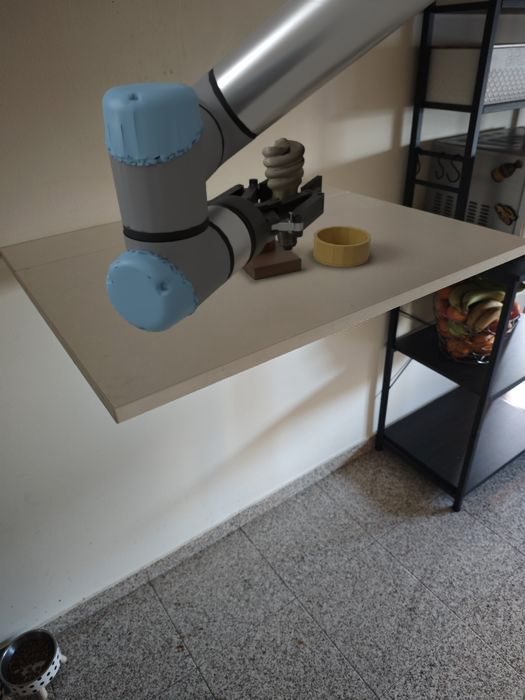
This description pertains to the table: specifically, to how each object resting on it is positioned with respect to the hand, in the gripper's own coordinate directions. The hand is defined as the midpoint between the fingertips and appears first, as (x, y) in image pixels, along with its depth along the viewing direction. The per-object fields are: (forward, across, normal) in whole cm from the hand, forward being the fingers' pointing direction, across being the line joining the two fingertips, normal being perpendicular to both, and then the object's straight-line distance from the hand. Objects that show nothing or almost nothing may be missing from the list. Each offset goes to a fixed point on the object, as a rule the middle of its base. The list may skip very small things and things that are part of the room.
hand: (299, 183), depth 71 cm
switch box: (+9, -10, -17) cm, 22 cm away
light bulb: (-5, 0, -8) cm, 10 cm away
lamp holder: (+17, +2, -17) cm, 24 cm away
